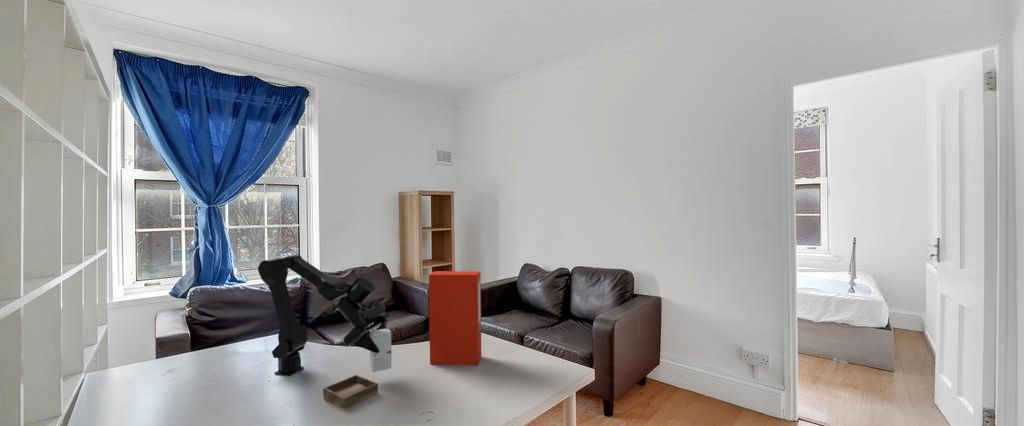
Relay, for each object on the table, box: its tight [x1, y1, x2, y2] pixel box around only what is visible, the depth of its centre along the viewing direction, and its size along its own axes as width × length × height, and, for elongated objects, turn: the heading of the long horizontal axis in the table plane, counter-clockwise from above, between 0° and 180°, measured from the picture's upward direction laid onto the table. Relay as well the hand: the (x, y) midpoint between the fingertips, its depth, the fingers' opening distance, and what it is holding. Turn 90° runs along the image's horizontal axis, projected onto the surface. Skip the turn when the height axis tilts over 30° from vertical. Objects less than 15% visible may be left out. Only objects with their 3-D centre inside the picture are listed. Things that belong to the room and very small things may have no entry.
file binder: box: [428, 270, 482, 366], centre depth 142 cm, size 8×17×32 cm, turn 86°
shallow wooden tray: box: [322, 374, 379, 410], centre depth 117 cm, size 11×11×3 cm
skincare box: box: [369, 327, 392, 373], centre depth 127 cm, size 6×4×12 cm
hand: (384, 348), depth 127 cm, fingers closed on skincare box, 7 cm apart
